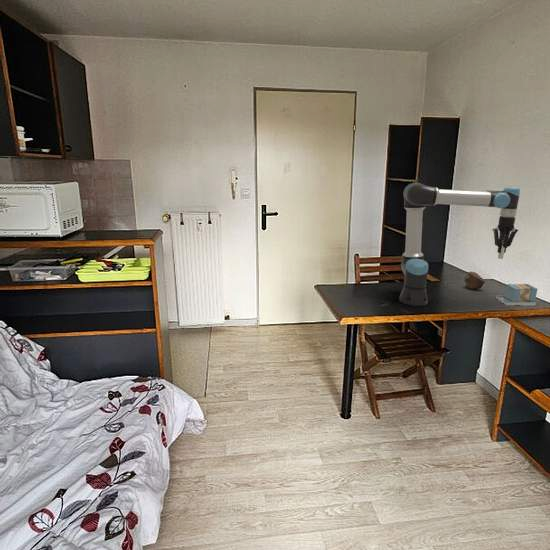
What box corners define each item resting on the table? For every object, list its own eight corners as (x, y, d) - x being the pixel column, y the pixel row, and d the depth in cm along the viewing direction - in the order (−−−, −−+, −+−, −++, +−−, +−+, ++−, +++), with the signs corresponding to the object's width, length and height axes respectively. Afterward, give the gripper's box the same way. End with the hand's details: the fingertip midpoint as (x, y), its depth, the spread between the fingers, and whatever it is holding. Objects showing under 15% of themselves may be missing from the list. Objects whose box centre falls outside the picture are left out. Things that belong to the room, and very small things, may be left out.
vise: (506, 305, 221) (509, 289, 218) (495, 298, 231) (498, 283, 228) (535, 305, 220) (538, 289, 218) (523, 299, 231) (526, 283, 228)
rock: (489, 284, 242) (479, 276, 239) (476, 296, 246) (466, 288, 242) (477, 274, 253) (468, 266, 249) (465, 285, 256) (456, 278, 253)
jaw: (512, 301, 221) (515, 288, 219) (504, 296, 230) (506, 284, 227) (519, 301, 221) (521, 289, 219) (510, 296, 230) (512, 284, 227)
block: (518, 302, 221) (521, 288, 219) (510, 297, 229) (513, 284, 227) (527, 302, 221) (530, 288, 219) (519, 297, 229) (522, 284, 227)
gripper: (499, 217, 213) (491, 259, 220) (523, 217, 213) (515, 260, 220) (492, 215, 220) (485, 256, 227) (515, 215, 220) (508, 257, 227)
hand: (500, 258), depth 223 cm, fingers closed
